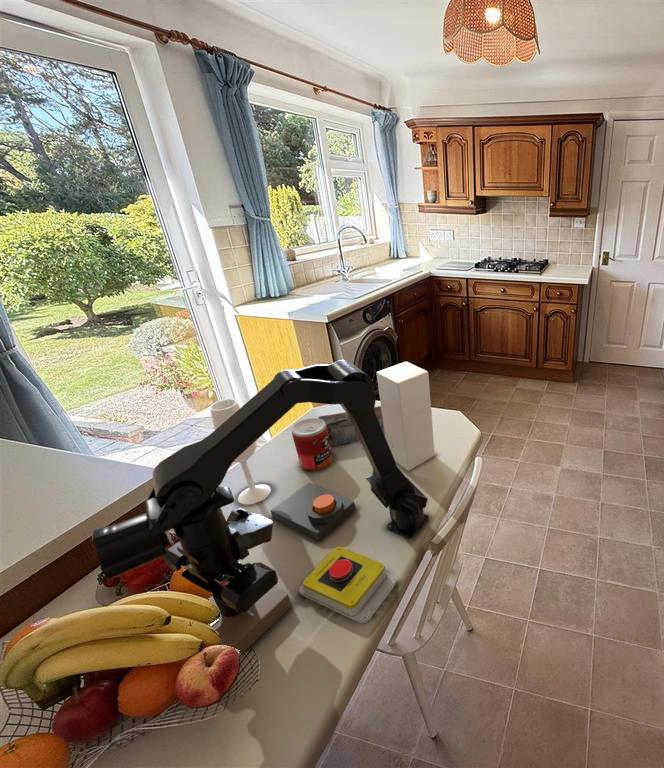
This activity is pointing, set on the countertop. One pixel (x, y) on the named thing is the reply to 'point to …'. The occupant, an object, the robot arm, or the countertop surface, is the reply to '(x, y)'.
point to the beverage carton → (345, 427)
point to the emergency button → (349, 584)
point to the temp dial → (222, 607)
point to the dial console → (251, 620)
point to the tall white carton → (407, 413)
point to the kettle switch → (324, 504)
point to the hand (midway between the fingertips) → (235, 602)
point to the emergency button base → (311, 511)
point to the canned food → (312, 443)
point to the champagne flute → (254, 492)
